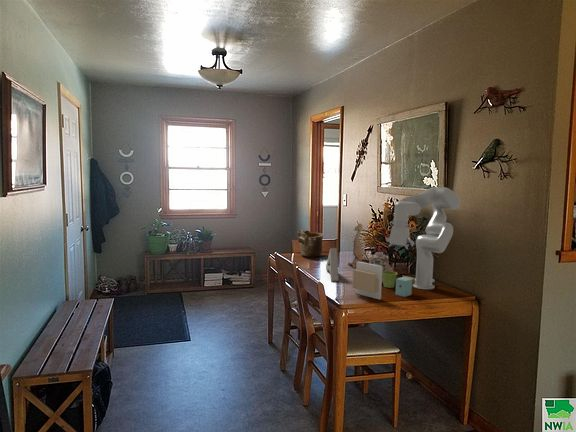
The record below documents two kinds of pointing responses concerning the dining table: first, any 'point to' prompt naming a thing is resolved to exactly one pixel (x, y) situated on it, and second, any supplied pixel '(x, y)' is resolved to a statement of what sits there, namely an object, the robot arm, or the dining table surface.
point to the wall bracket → (333, 264)
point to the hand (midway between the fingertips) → (399, 255)
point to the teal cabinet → (404, 286)
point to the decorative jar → (380, 261)
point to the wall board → (368, 280)
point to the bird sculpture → (357, 247)
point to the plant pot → (389, 278)
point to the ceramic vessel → (310, 243)
